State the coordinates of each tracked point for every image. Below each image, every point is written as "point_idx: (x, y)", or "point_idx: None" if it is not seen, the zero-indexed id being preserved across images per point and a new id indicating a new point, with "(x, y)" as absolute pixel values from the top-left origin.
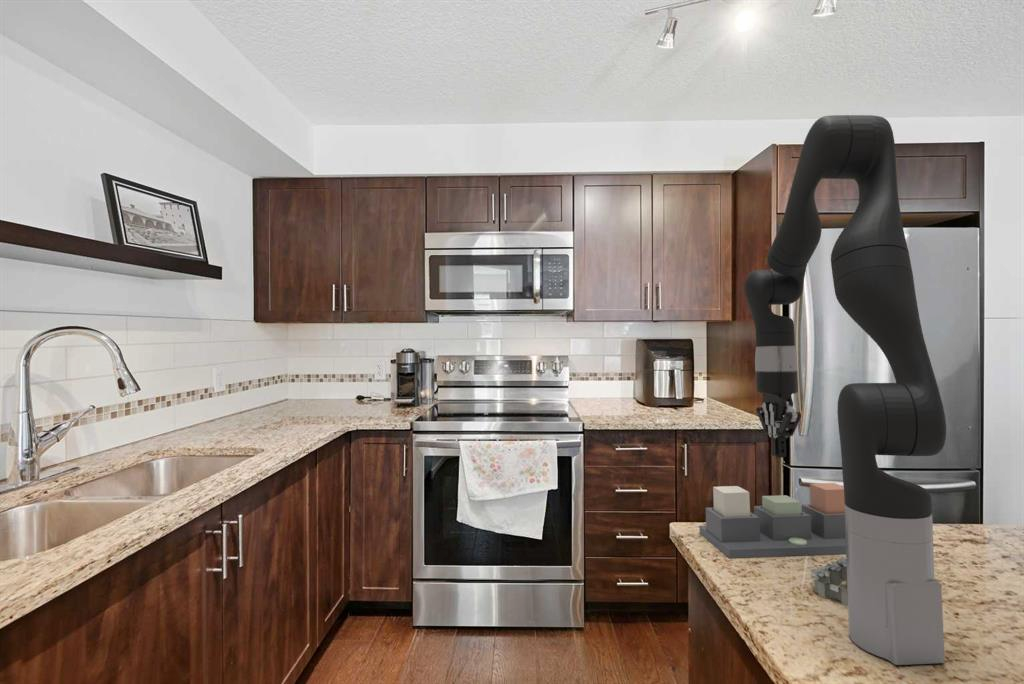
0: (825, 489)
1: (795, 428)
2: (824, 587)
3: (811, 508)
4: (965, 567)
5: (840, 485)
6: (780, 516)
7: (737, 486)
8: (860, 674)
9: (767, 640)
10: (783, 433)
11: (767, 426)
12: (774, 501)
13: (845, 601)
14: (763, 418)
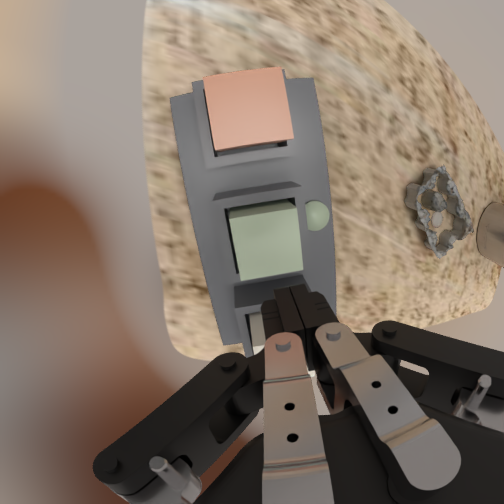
0: (289, 136)
1: (442, 337)
2: (445, 247)
3: (241, 158)
4: (354, 13)
5: (236, 72)
6: (308, 252)
7: (258, 348)
8: (500, 268)
9: (469, 311)
10: (400, 367)
11: (248, 418)
12: (291, 267)
13: (453, 231)
14: (214, 459)
